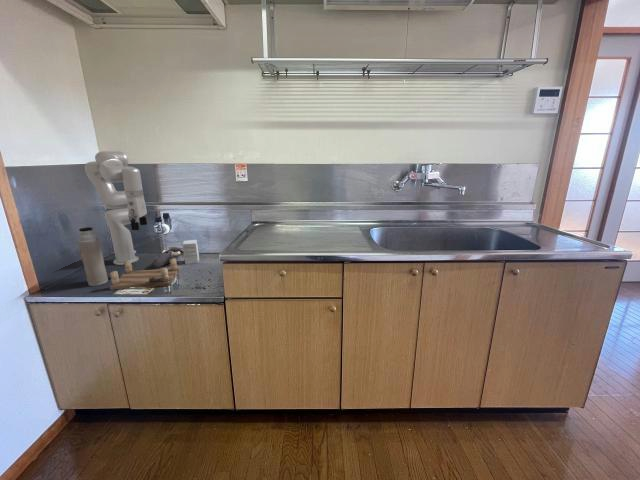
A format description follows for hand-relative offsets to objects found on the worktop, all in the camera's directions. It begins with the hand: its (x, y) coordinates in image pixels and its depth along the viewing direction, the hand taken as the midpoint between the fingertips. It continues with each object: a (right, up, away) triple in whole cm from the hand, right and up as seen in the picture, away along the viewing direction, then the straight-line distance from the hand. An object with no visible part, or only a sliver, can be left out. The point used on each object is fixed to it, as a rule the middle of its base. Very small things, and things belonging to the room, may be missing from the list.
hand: (139, 227), depth 145 cm
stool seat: (+4, -27, 0) cm, 27 cm away
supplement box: (+15, -20, +25) cm, 36 cm away
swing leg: (+13, -26, -6) cm, 30 cm away
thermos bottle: (-19, -28, -3) cm, 34 cm away
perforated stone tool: (+1, -21, +21) cm, 30 cm away
